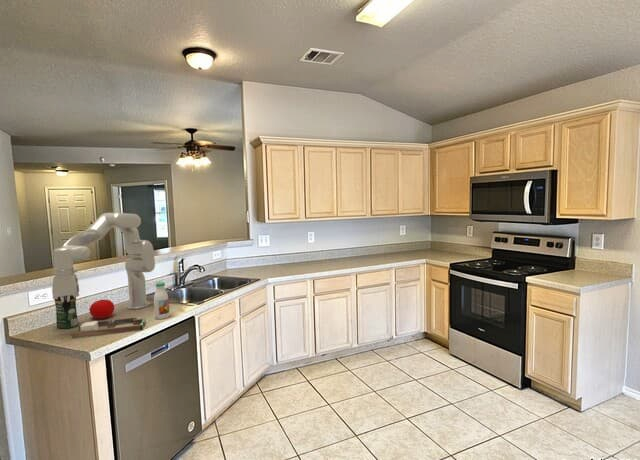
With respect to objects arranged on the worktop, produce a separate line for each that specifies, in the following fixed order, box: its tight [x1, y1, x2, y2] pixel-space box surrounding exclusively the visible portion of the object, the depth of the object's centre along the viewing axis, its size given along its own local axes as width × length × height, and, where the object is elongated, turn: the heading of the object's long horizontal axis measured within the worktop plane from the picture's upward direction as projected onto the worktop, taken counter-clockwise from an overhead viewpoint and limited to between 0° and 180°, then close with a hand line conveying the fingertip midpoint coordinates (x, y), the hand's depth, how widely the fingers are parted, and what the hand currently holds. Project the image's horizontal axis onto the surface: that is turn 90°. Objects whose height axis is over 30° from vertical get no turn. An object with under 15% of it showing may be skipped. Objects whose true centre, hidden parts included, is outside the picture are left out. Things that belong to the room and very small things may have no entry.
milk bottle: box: [153, 281, 170, 320], centre depth 198 cm, size 8×8×20 cm
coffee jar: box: [53, 296, 79, 329], centre depth 186 cm, size 10×8×19 cm
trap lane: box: [71, 316, 147, 339], centre depth 181 cm, size 15×31×2 cm, turn 108°
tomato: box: [88, 299, 115, 320], centre depth 200 cm, size 11×12×10 cm
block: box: [79, 320, 99, 332], centre depth 176 cm, size 6×6×5 cm
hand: (67, 309), depth 173 cm, fingers closed
